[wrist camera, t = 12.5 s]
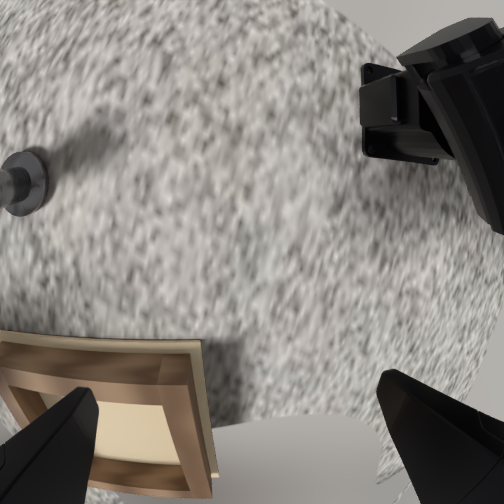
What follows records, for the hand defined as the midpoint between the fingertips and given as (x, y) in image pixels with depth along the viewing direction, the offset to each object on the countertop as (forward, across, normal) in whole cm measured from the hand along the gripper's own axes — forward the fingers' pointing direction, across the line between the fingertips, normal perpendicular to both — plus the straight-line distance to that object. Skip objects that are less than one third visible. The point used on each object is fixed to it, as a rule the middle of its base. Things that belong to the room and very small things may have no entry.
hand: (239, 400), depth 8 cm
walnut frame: (+12, +12, +16) cm, 23 cm away
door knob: (+12, +14, -6) cm, 19 cm away
